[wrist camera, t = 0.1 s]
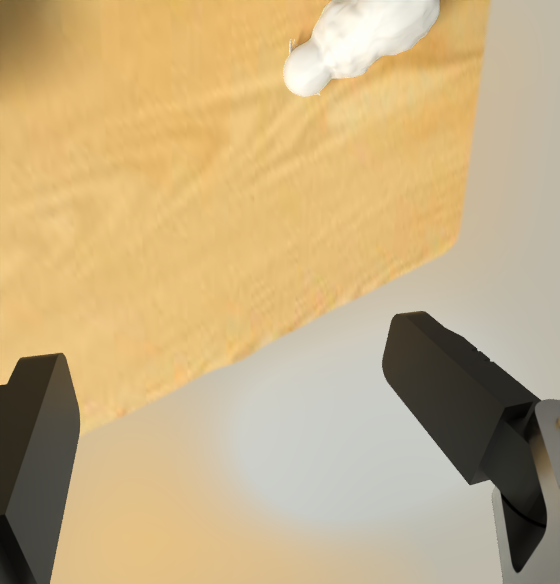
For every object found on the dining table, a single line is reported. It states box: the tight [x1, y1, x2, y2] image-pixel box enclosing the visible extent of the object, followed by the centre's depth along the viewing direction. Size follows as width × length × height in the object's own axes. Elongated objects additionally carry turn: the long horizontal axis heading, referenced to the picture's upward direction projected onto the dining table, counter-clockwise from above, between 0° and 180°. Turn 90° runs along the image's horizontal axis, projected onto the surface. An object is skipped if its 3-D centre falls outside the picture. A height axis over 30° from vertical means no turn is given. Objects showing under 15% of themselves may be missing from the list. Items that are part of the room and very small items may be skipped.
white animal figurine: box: [283, 0, 440, 97], centre depth 30 cm, size 6×8×12 cm
